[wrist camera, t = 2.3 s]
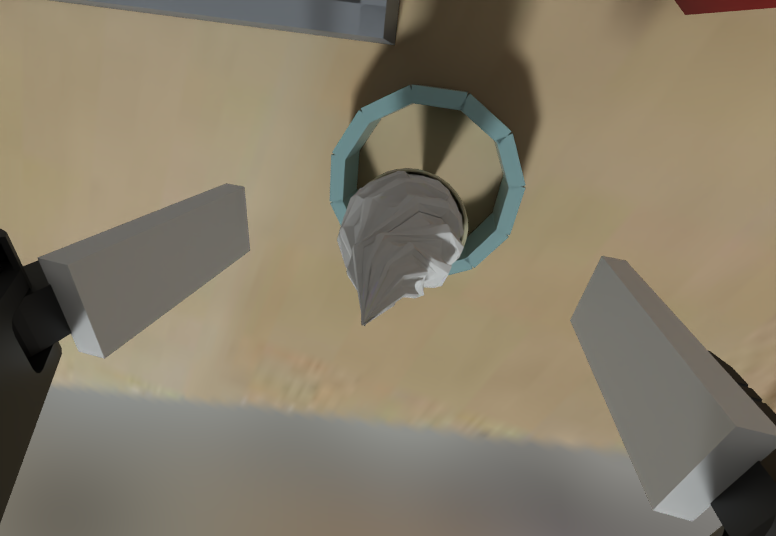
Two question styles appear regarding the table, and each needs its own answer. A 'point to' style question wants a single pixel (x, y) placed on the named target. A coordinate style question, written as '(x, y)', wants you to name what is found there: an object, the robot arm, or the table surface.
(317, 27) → the tray
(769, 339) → the table surface
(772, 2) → the french fries
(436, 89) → the teal ring
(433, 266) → the soft serve swirl
